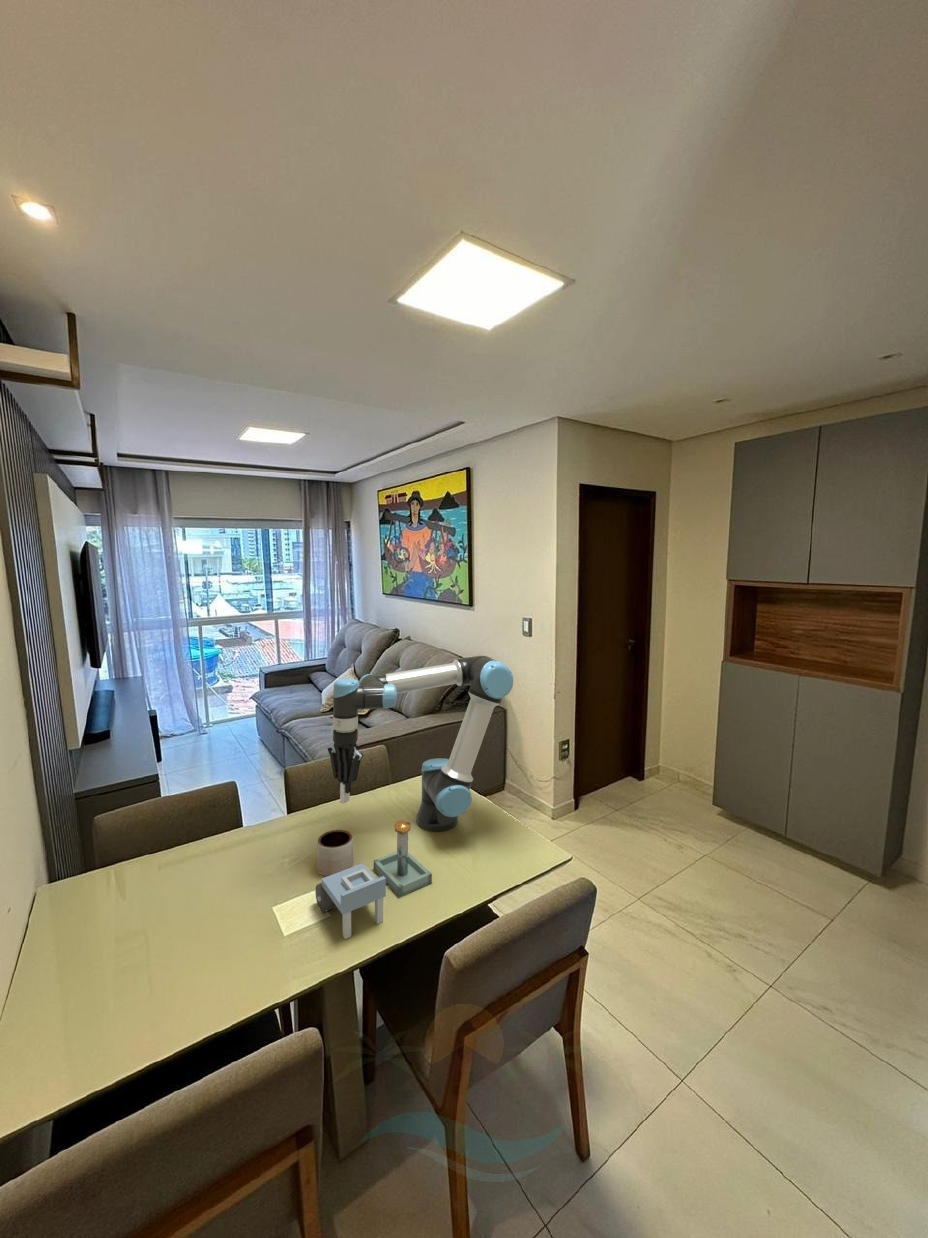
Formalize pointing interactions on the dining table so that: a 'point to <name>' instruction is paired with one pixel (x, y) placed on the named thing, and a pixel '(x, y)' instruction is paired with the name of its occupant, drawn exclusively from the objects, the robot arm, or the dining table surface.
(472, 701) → the robot arm
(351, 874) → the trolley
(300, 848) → the dining table surface
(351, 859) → the planter
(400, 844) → the orange and grey cylinder
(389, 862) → the tray
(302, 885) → the dining table surface
